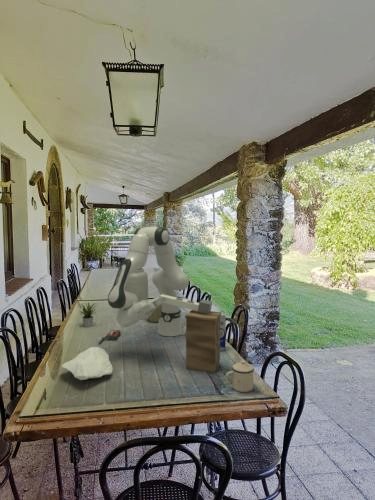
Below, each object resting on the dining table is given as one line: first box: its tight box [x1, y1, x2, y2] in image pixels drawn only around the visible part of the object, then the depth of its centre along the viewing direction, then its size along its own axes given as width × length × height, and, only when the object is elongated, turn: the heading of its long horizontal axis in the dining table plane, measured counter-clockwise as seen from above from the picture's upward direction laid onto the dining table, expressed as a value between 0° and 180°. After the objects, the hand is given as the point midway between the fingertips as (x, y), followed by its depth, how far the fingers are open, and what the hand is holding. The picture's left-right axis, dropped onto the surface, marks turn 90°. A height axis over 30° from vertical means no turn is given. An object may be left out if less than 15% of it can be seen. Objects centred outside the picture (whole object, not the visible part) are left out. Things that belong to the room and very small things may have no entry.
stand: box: [184, 309, 222, 374], centre depth 177 cm, size 12×15×26 cm
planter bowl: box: [147, 305, 162, 323], centre depth 256 cm, size 16×16×11 cm
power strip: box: [158, 294, 213, 314], centre depth 182 cm, size 6×26×5 cm, turn 73°
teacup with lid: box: [225, 360, 255, 393], centre depth 156 cm, size 12×9×12 cm
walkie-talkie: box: [98, 329, 122, 344], centre depth 218 cm, size 9×4×20 cm
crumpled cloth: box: [61, 346, 113, 381], centre depth 171 cm, size 24×35×9 cm
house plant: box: [79, 302, 98, 328], centre depth 243 cm, size 14×14×16 cm
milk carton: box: [220, 314, 227, 352], centre depth 201 cm, size 7×7×20 cm
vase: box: [125, 267, 149, 302], centre depth 275 cm, size 20×20×34 cm
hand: (166, 297), depth 185 cm, fingers closed on power strip, 4 cm apart
